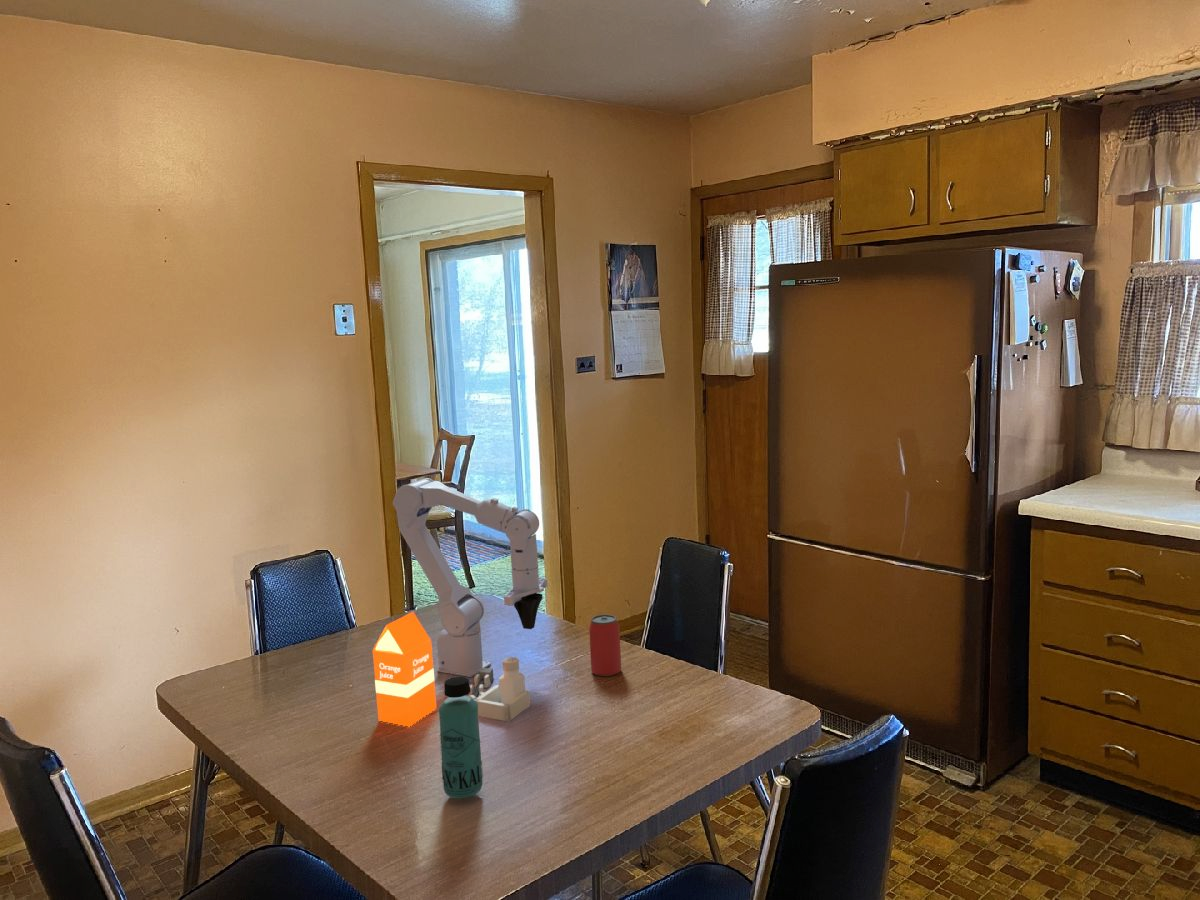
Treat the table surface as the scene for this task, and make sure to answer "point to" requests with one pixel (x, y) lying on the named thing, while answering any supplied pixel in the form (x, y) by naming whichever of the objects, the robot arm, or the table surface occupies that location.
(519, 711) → the end holder
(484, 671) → the cable route
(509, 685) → the pepper shaker
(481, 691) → the clips
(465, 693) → the beverage bottle
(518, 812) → the table surface
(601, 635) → the beer can
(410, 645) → the orange juice
